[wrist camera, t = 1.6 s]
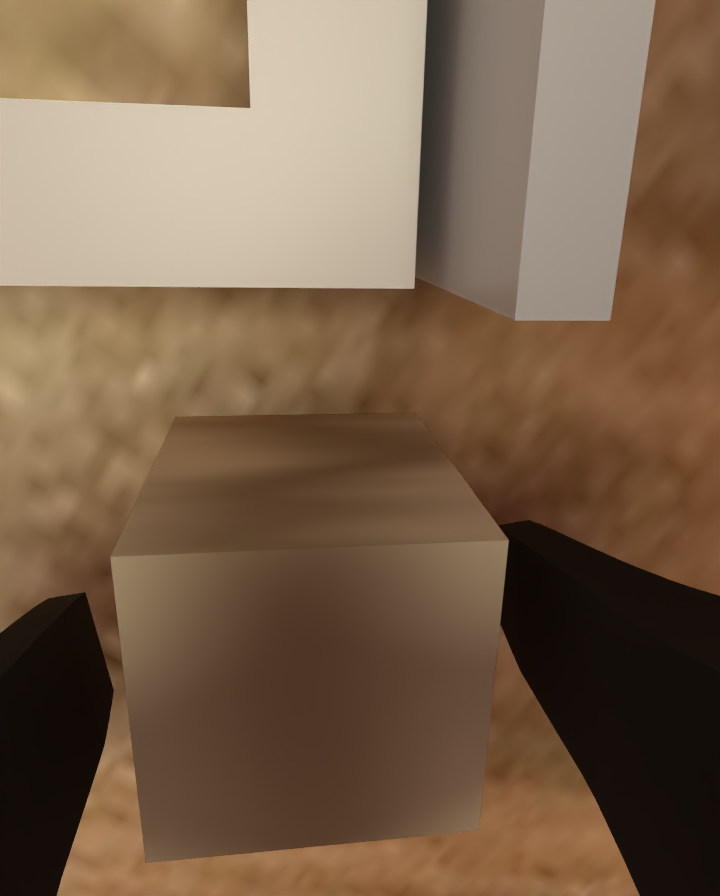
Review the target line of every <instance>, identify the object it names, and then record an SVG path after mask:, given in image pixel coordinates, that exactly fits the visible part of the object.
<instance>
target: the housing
mask: <svg viewBox="0 0 720 896" xmlns="http://www.w3.org/2000/svg"><path fill="white" fill-rule="evenodd" d="M655 1H656V0H247V15H248V48H249V81H250V108H233V107H208V106H184V105H159V104H134V103H110V102H85V101H60V100H36V99H11V98H0V286H115V287H248V288H381V289H414V284H415V277H416V278H418V279H420V280H423V281H425V282H427V283H430V284H432V285H434V286H436V287H439V288H441V289H443V290H446V291H448V292H450V293H453V294H455V295H457V296H459V297H462V298H464V299H466V300H469V301H471V302H473V303H476V304H478V305H480V306H482V307H485V308H487V309H489V310H492V311H494V312H496V313H499V314H501V315H503V316H505V317H508V318H510V319H512V320H515V321H610V318H611V311H612V304H613V297H614V290H615V283H616V276H617V269H618V262H619V255H620V248H621V241H622V234H623V227H624V220H625V213H626V206H627V198H628V191H629V184H630V177H631V170H632V163H633V156H634V149H635V142H636V135H637V128H638V121H639V114H640V107H641V100H642V93H643V86H644V78H645V71H646V64H647V57H648V50H649V43H650V36H651V29H652V22H653V15H654V8H655Z"/></svg>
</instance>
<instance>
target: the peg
mask: <svg viewBox="0 0 720 896" xmlns="http://www.w3.org/2000/svg"><path fill="white" fill-rule="evenodd" d="M508 543H509V540H508V538H507V537H506V536H505V534H504V533H503V532H502V530H501V529H500V528H499V526H498V525H497V523H496V522H495V521H494V519H493V518H492V517H491V515H490V514H489V512H488V511H487V510H486V508H485V507H484V506H483V504H482V503H481V502H480V500H479V499H478V497H477V496H476V495H475V493H474V492H473V491H472V489H471V488H470V487H469V485H468V484H467V482H466V481H465V480H464V478H463V477H462V476H461V474H460V473H459V472H458V470H457V469H456V467H455V466H454V465H453V463H452V462H451V461H450V459H449V458H448V456H447V455H446V454H445V452H444V451H443V450H442V448H441V447H440V446H439V444H438V443H437V441H436V440H435V439H434V437H433V436H432V435H431V433H430V432H429V431H428V429H427V428H426V426H425V425H424V424H423V422H422V421H421V420H420V418H419V417H418V416H417V414H416V413H375V414H315V415H255V416H195V417H175V419H174V421H173V423H172V426H171V428H170V430H169V432H168V434H167V436H166V438H165V441H164V443H163V445H162V447H161V449H160V451H159V453H158V456H157V458H156V460H155V462H154V464H153V466H152V468H151V471H150V473H149V475H148V477H147V479H146V481H145V483H144V486H143V488H142V490H141V492H140V494H139V496H138V498H137V501H136V503H135V505H134V507H133V509H132V511H131V514H130V516H129V518H128V520H127V522H126V524H125V526H124V529H123V531H122V533H121V535H120V537H119V539H118V541H117V544H116V546H115V548H114V550H113V552H112V554H111V556H110V559H111V568H112V577H113V585H114V594H115V602H116V611H117V620H118V628H119V637H120V645H121V654H122V663H123V671H124V680H125V688H126V697H127V706H128V714H129V723H130V731H131V740H132V749H133V757H134V766H135V774H136V783H137V792H138V800H139V809H140V817H141V826H142V835H143V843H144V852H145V860H146V863H152V862H162V861H172V860H182V859H192V858H202V857H213V856H223V855H233V854H243V853H253V852H264V851H274V850H284V849H294V848H304V847H314V846H325V845H335V844H345V843H355V842H365V841H376V840H386V839H396V838H406V837H416V836H426V835H437V834H447V833H457V832H467V831H477V830H479V825H480V815H481V805H482V795H483V786H484V776H485V766H486V757H487V747H488V737H489V728H490V718H491V708H492V698H493V689H494V679H495V669H496V660H497V650H498V640H499V630H500V621H501V611H502V601H503V592H504V582H505V572H506V562H507V553H508Z"/></svg>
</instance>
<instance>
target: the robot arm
mask: <svg viewBox="0 0 720 896" xmlns="http://www.w3.org/2000/svg"><path fill="white" fill-rule="evenodd" d="M498 526H499V528H500V529H501V530H502V532H503V533H504V534H505V536H506V537H507V538H508V540H509V543H508V553H507V562H506V572H505V582H504V592H503V601H502V611H501V621H500V624H501V626H502V628H503V631H504V633H505V636H506V638H507V641H508V643H509V646H510V648H511V650H512V653H513V655H514V657H515V660H516V662H517V664H518V666H519V669H520V671H521V672H522V674H523V676H524V678H525V679H526V681H527V683H528V685H529V686H530V688H531V690H532V691H533V693H534V695H535V696H536V698H537V700H538V702H539V703H540V705H541V707H542V708H543V710H544V712H545V713H546V715H547V717H548V718H549V720H550V722H551V723H552V725H553V727H554V728H555V730H556V732H557V733H558V735H559V737H560V738H561V740H562V742H563V743H564V745H565V747H566V748H567V750H568V752H569V753H570V755H571V757H572V758H573V760H574V762H575V763H576V765H577V767H578V768H579V770H580V772H581V773H582V775H583V777H584V779H585V781H586V782H587V784H588V786H589V788H590V790H591V792H592V793H593V795H594V797H595V799H596V801H597V803H598V805H599V807H600V810H601V812H602V814H603V816H604V818H605V820H606V822H607V824H608V827H609V829H610V831H611V833H612V835H613V837H614V839H615V842H616V844H617V846H618V848H619V850H620V852H621V854H622V857H623V859H624V861H625V863H626V866H627V868H628V870H629V872H630V874H631V877H632V879H633V881H634V883H635V886H636V888H637V890H638V892H639V895H640V896H720V596H718V595H715V594H712V593H708V592H705V591H702V590H698V589H695V588H692V587H689V586H686V585H683V584H680V583H677V582H674V581H671V580H669V579H666V578H663V577H661V576H658V575H656V574H653V573H650V572H648V571H645V570H643V569H640V568H637V567H635V566H633V565H630V564H628V563H625V562H623V561H621V560H618V559H616V558H614V557H611V556H609V555H607V554H605V553H602V552H600V551H598V550H596V549H594V548H591V547H589V546H587V545H585V544H583V543H580V542H578V541H576V540H574V539H572V538H570V537H568V536H565V535H563V534H561V533H559V532H557V531H554V530H552V529H550V528H548V527H545V526H543V525H541V524H538V523H535V522H532V521H529V520H527V521H521V522H515V523H509V524H503V525H498ZM113 692H114V690H113V686H112V683H111V679H110V676H109V672H108V669H107V666H106V662H105V659H104V655H103V652H102V648H101V645H100V642H99V638H98V635H97V631H96V628H95V624H94V621H93V618H92V614H91V611H90V607H89V604H88V600H87V597H86V593H78V594H72V595H66V596H60V597H54V598H48V599H47V600H45V601H43V602H42V603H40V604H39V605H37V606H36V607H34V608H33V609H31V610H30V611H29V612H27V613H26V614H25V615H23V616H22V617H21V618H19V619H18V620H17V621H15V622H14V623H13V624H11V625H10V626H9V627H8V628H6V629H5V630H4V631H2V632H1V633H0V896H57V892H58V888H59V885H60V881H61V878H62V875H63V872H64V869H65V866H66V862H67V859H68V856H69V853H70V850H71V847H72V844H73V841H74V838H75V835H76V832H77V829H78V826H79V823H80V820H81V817H82V814H83V811H84V808H85V805H86V802H87V799H88V795H89V792H90V789H91V786H92V783H93V780H94V777H95V774H96V770H97V767H98V764H99V761H100V758H101V755H102V751H103V748H104V744H105V739H106V734H107V729H108V723H109V718H110V711H111V705H112V699H113Z"/></svg>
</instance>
